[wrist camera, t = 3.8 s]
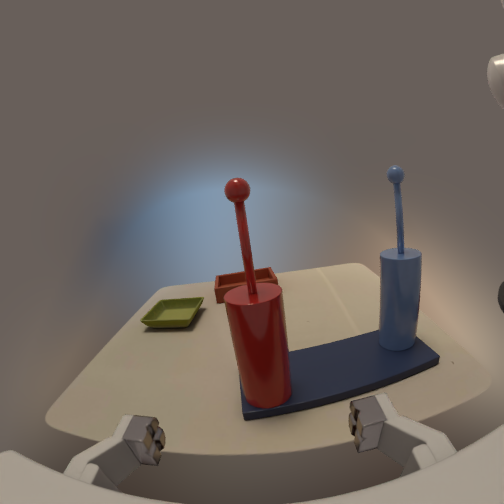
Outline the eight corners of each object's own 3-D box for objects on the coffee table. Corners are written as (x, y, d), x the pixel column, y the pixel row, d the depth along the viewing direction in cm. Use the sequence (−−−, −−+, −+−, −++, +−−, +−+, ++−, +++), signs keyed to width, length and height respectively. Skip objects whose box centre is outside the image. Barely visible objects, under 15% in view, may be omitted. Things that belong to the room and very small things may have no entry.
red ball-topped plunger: (287, 374, 25) (262, 175, 21) (297, 403, 21) (271, 171, 17) (242, 382, 25) (206, 183, 21) (245, 412, 21) (201, 181, 17)
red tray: (272, 279, 58) (270, 267, 57) (279, 293, 50) (277, 278, 49) (218, 288, 57) (215, 275, 57) (217, 303, 49) (214, 288, 49)
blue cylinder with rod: (402, 327, 29) (399, 166, 25) (422, 343, 25) (425, 163, 21) (371, 336, 29) (364, 167, 25) (389, 355, 25) (388, 164, 21)
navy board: (399, 329, 30) (399, 322, 30) (438, 363, 22) (440, 355, 22) (239, 367, 29) (238, 360, 29) (244, 420, 21) (242, 413, 21)
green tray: (192, 331, 40) (189, 318, 39) (142, 332, 41) (138, 320, 40) (206, 307, 48) (204, 296, 48) (162, 310, 49) (159, 299, 49)
